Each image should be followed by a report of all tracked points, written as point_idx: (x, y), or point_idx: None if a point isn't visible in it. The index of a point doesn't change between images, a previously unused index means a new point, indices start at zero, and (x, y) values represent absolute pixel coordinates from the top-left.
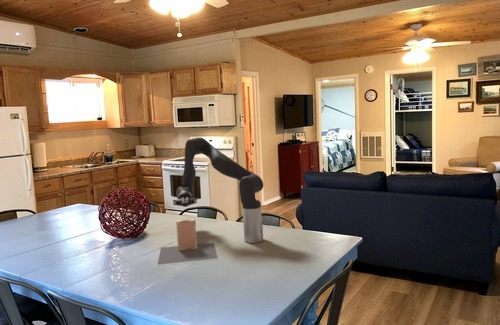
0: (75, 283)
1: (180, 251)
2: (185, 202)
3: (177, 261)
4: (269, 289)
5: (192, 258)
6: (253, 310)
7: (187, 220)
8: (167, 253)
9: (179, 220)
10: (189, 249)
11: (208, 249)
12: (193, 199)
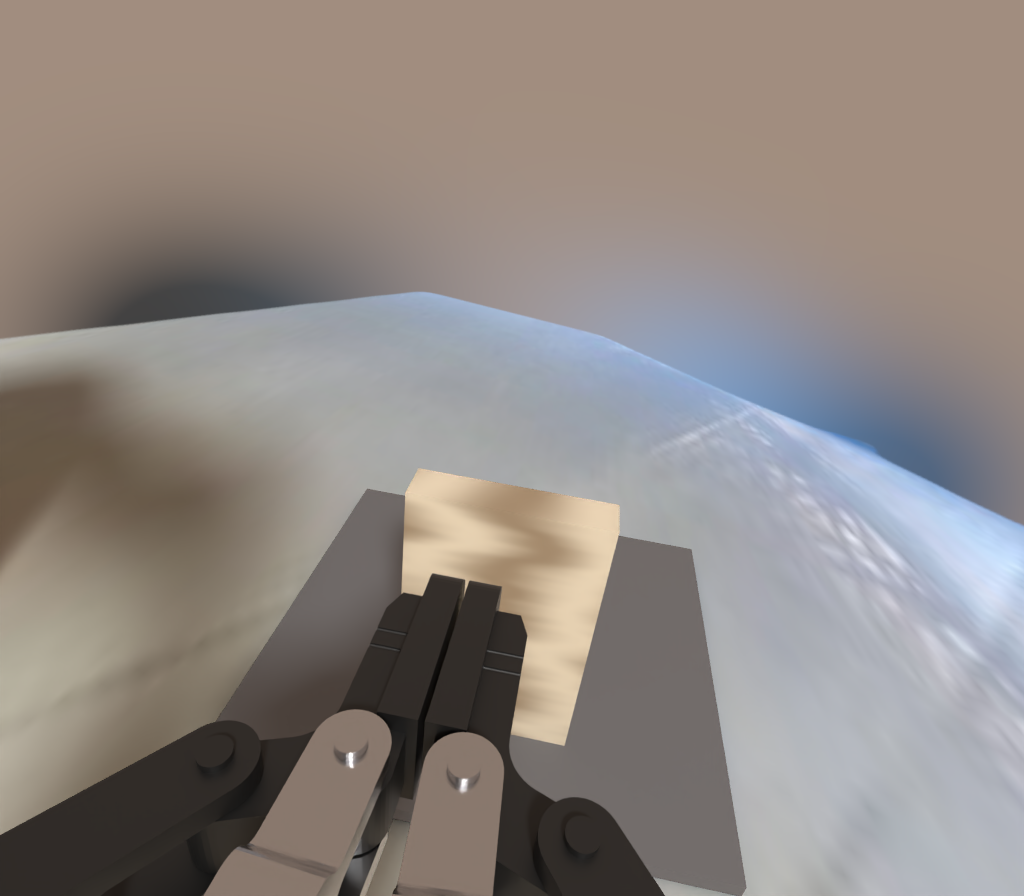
0: None
1: None
2: (451, 577)
3: None
4: (347, 328)
5: None
6: (434, 307)
7: (499, 484)
8: (653, 684)
9: (582, 519)
10: None
11: (341, 618)
12: (25, 827)
